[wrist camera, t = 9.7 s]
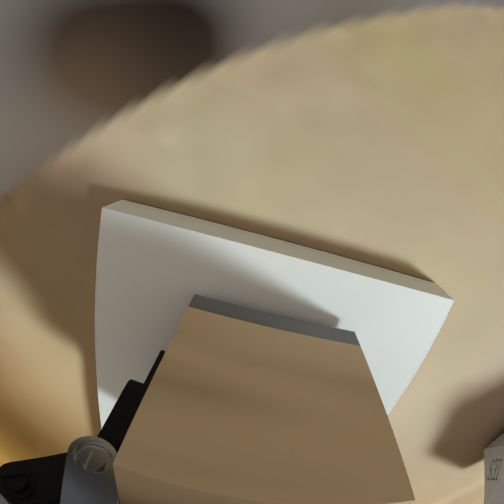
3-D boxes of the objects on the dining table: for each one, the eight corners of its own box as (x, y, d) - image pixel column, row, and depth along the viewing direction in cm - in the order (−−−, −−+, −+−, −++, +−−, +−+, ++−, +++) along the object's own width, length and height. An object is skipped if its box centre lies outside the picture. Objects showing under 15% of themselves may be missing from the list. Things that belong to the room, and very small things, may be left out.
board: (272, 526, 18) (272, 541, 16) (121, 492, 17) (115, 506, 16) (436, 283, 11) (454, 300, 9) (122, 199, 10) (101, 207, 9)
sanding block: (286, 459, 11) (286, 580, 6) (171, 435, 11) (133, 555, 6) (354, 331, 9) (415, 500, 4) (194, 293, 9) (112, 464, 3)
